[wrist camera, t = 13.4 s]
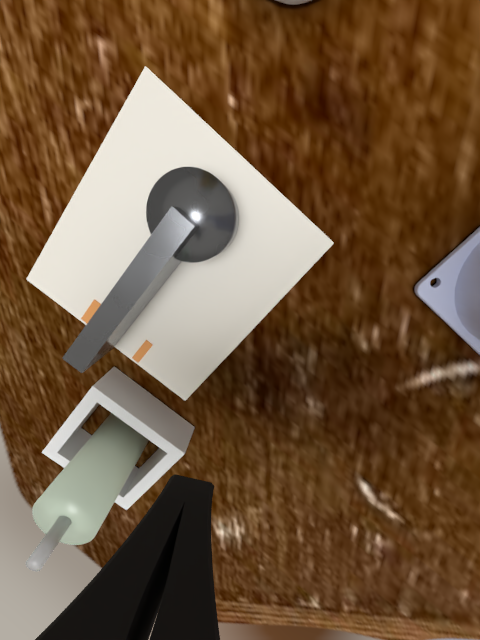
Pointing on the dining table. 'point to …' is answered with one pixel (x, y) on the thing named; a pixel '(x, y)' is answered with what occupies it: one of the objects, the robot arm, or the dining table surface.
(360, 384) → the dining table surface
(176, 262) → the dial lever
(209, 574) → the robot arm
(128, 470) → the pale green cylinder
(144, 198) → the dial panel
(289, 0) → the supplement bottle
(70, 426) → the tool holder
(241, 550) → the dining table surface
